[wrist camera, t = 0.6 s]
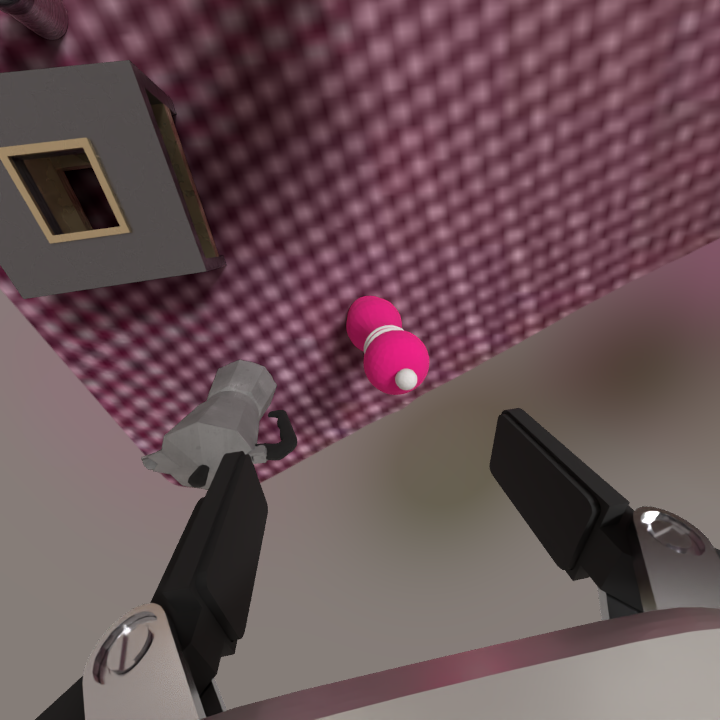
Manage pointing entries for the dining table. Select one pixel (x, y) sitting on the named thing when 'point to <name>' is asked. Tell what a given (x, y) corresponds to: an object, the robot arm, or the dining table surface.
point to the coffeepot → (223, 427)
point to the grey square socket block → (114, 171)
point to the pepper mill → (386, 346)
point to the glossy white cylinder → (39, 16)
